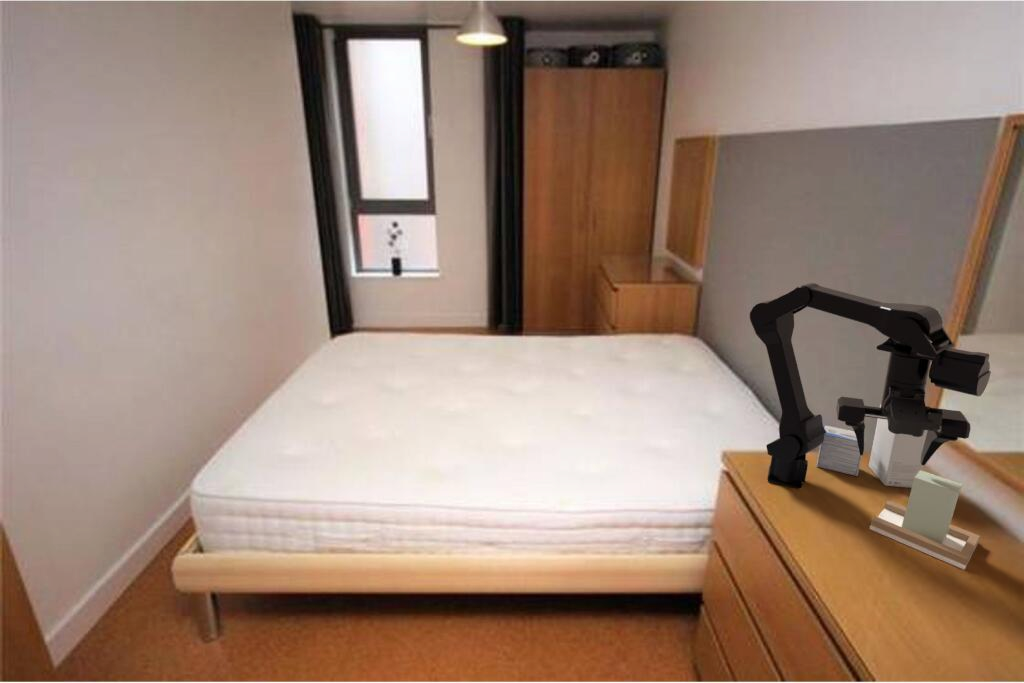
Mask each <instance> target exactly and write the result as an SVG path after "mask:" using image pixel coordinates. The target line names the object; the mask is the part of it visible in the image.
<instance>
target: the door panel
mask: <svg viewBox="0 0 1024 683" xmlns="http://www.w3.org/2000/svg"><path fill="white" fill-rule="evenodd" d="M962 486H963V484H962V483H960V482H956V481H953V480H951V479H948V478H945V477H942V476H939V475H936V474H933V473H931V472H928V471H924V470H922V469H921V470H920V471H919V472H918V474H917V475H916V476H915V478H914V481H913V485H912V488H910V494H909V497H908V502H907V505H906V507H907V508H906V512H905V516H904V519H903V523H902V528H905V529H907V530H910V531H912V532H914V533H917V534H919V535H922V536H924V537H927V538H929V539H931V540H934V541H936V542H939V543H941V544H942V543H943V542H944V540H945V538H946V536H947V533H948V530H949V526H950V524H951V523H952V519H953V515H954V512H955V509H956V506H957V502H958V499H959V495H960V493H961V488H962Z"/></svg>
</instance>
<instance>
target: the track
mask: <svg viewBox="0 0 1024 683" xmlns="http://www.w3.org/2000/svg"><path fill="white" fill-rule="evenodd" d="M906 508H907V506H905V505H902V504H900V503H896V502H894V501H891V500H887V501H886V502H885V505H884V508H883V510H882V511H881V512H880V513H879V514H878V516H876V515H874V517H873V518H872V519H871V523H870V525H869V530H871V531H874V532H875V533H877V534H880V535H883V536H885V537H887V538H890V539H893V540H894V541H897V542H898V543H901V544H904V545H906V546H908V547H910V548H913V549H915V550H918V551H920V552H922V553H924V554H926V555H929V556H931V557H934V558H936V559H938V560H941V561H943V562H945V563H948V564H950V565H952V566H954V567H956V568H959V569H961V570H964V571H965V570H966V568H967V565H968V564H969V562H970V560H971V558H972V556H973V553H974V552H975V550H976V548H977V546H978V544H979V541H980V537H981V535H979V534H976V533H975V532H972V531H969V530H967V529H963V528H961V527H958V526H956V525H954V524H951V523H950V526H949V530H948V533H947V536H946V538H945V540H944V542H943V543H942V544H941V543H939V542H936V541H934V540H931V539H929V538H927V537H924V536H922V535H919V534H917V533H914V532H912V531H910V530H907V529H905V528H902V523H903V519H904V516H905V512H906Z"/></svg>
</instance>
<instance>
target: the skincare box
mask: <svg viewBox="0 0 1024 683" xmlns="http://www.w3.org/2000/svg"><path fill="white" fill-rule="evenodd" d="M879 408H881V403H880V405H879ZM927 431H928V430H925V431H924V433H923V436H921V437H914V436H912V435H906V434H894V433H892V432H890V431H889V430H888V420H887V419H880V418H877V421H876V426H875V431H874V432H875V433H874V437H873V443H872V447H871V452H870V458H869V463H868V467H869V468H870V470H871V471H872V472H873V473H874V474H875V476H876V477H877V478H878V479H879V481H880V482H881V483H882V484H883V485H884V486H887V487H896V488H897V487H898V488H908V489H909V488H910V489H912V485H913V481H914V478H915V476H916V475H917V474H918V472H919V471H920V470H922V469H923V465H921V454H922V450H923V446H924V443H925V439H926V435H927Z"/></svg>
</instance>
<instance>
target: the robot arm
mask: <svg viewBox="0 0 1024 683" xmlns="http://www.w3.org/2000/svg"><path fill="white" fill-rule="evenodd" d="M806 308H812V309H814V310H818V311H822V312H825V313H828V314H831V315H835V316H838V317H842V318H844V319H848V320H850V321H851V320H852V321H855V322H859V323H861V324H865V325H868V326H870V327H872V328H873V329H876V331H877V332H879V333H880V334H882V335H883V336H885V337H887V339H886V340H885V341H884V342H882V343H881V344H879V345H877V346H876V347H875V348H876V350H877V351H882V352H888V353H889V358H888V364H887V369H886V374H885V380H884V381H885V382H884V385H883V391H882V392H883V393H882V398H881V402H880V404H881V408H880V406H879V407H878V406H869V405H865V401H864V399H863V398H858V397H857V398H856V397H848V396H847V397H846V396H840V397H839V398H838V399H837V402H836V406H835V407H836V408H835V410H836V417H837V420H838V421H841V422H844V424H845V425H846V426H848V427H851V428H852V429H853V430H852V431H854V432H855V435H856V438H857V442H858V447H859V452H860V455H862V456H864V452H865V445H864V434H865V429H866V426H865V418H872V419H873V418H874V419H878V418H880V419H887V420H888V430H889V431H890V432H892V433H894V434H906V435H912V436H914V437H921V436H923V433H924V431H925V430H928V431H927V435H926V439H925V443H924V446H923V450H922V454H921V465H922V466H925V465H926V464H927V463H928V462H929V460H930V459H931V458H932V456H933V455H934V454H935V453H936V451H937V450H938V449H939V448H940V447H941V446H942V445H943V444H945V443H947V442H951V441H952V442H957V440H959V439H969V437H970V433H971V423H970V422H969V420H968V419H967V417H966V415H965V414H964V413H963V412H962V411H960V410H955V409H954V410H953V409H945V408H937V407H936V408H935V407H930V406H926V402H925V399H926V398H925V397H926V386H927V381H928V378H929V380H930V383H931V384H934V386H935V387H936V388H940V389H945V390H949V391H953V392H958V393H962V394H966V395H971V396H975V397H981V396H982V394H984V392H985V390H986V388H987V387H988V386H987V385H988V383H989V380H990V377H991V372H992V371H990V369H991V366H990V361H989V359H990V354H989V353H985V352H981V351H980V352H979V351H968V350H965V349H964V350H962V349H957V348H954V347H955V344H954V342H953V341H952V339H951V337H950V336H949V335H948V332H946V330H945V328H944V327H943V323H944V322H943V318H942V316H941V314H940V312H939V311H938V310H937V309H936V308H934V307H932V306H929V305H924V304H923V305H922V304H913V303H899V302H898V303H897V302H892V303H891V302H882V301H878V300H874V299H870V298H867V297H863V296H859V295H854V294H851V293H848V292H844V291H839V290H836V289H832V288H829V287H825V286H821V285H819V284H818V283H814V282H812V283H806V284H802V285H798V286H797V287H796V288H794V289H793V290H790V291H789V292H788V293H786V294H783V295H781V296H779V297H777V298H774V299H773V298H772V299H770V300H767V301H762V302H759V303H757V304H756V303H755V305H754V306H753V307H752V308H751V311H749V320H750V324H751V325H752V328H753V330H754V333H755V334H756V336H757V337H758V338H759V340H761V342H762V343H763V344H764V346H765V347H766V351H767V352H766V353H767V355H768V356H767V357H768V360H769V364H770V368H771V372H772V377H773V381H774V384H775V385H774V386H775V388H776V393H777V397H778V402H779V405H780V409H781V415H780V421H779V425H778V433H779V436H778V438H777V439H775V440H773V441H771V442H769V443H768V444H766V450H767V454H768V455H769V456H771V458H770V465H769V468H768V473H767V474H768V475H767V479H766V480H768V481H767V482H769V481H770V482H769V483H773V482H774V483H773V484H777V483H779V484H778V485H781V484H783V485H782V486H786V487H790V488H795V489H798V490H801V489H802V487H803V484H804V483H806V478H807V472H808V467H809V466H808V464H809V462H808V459H806V458H807V454H808V453H809V452H811V451H813V450H815V449H816V448H818V447H820V445H821V443H822V442H823V441H824V434H825V433H827V432H826V431H825V429H824V425H823V416H822V415H821V414H820V413H819V414H814V412H812V410H810V408H809V406H808V404H807V399H806V396H805V392H804V387H803V384H802V378H801V376H800V371H799V367H798V364H797V359H796V355H795V350H794V346H793V342H792V338H793V332H794V328H795V316H794V315H796V314H797V313H799V312H801V311H803V310H804V309H806Z"/></svg>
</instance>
